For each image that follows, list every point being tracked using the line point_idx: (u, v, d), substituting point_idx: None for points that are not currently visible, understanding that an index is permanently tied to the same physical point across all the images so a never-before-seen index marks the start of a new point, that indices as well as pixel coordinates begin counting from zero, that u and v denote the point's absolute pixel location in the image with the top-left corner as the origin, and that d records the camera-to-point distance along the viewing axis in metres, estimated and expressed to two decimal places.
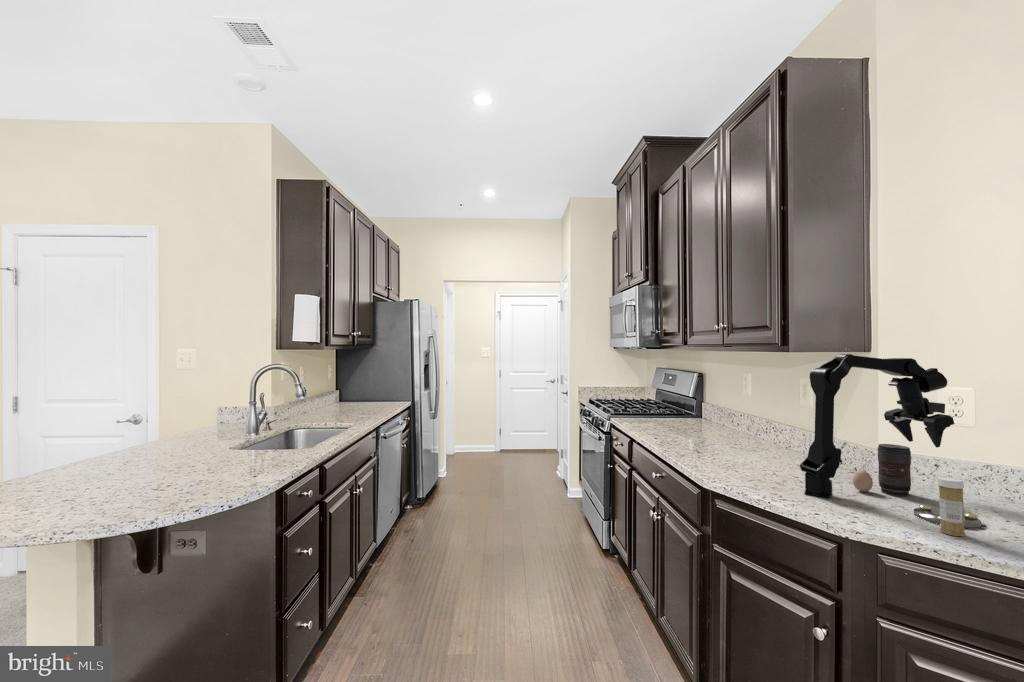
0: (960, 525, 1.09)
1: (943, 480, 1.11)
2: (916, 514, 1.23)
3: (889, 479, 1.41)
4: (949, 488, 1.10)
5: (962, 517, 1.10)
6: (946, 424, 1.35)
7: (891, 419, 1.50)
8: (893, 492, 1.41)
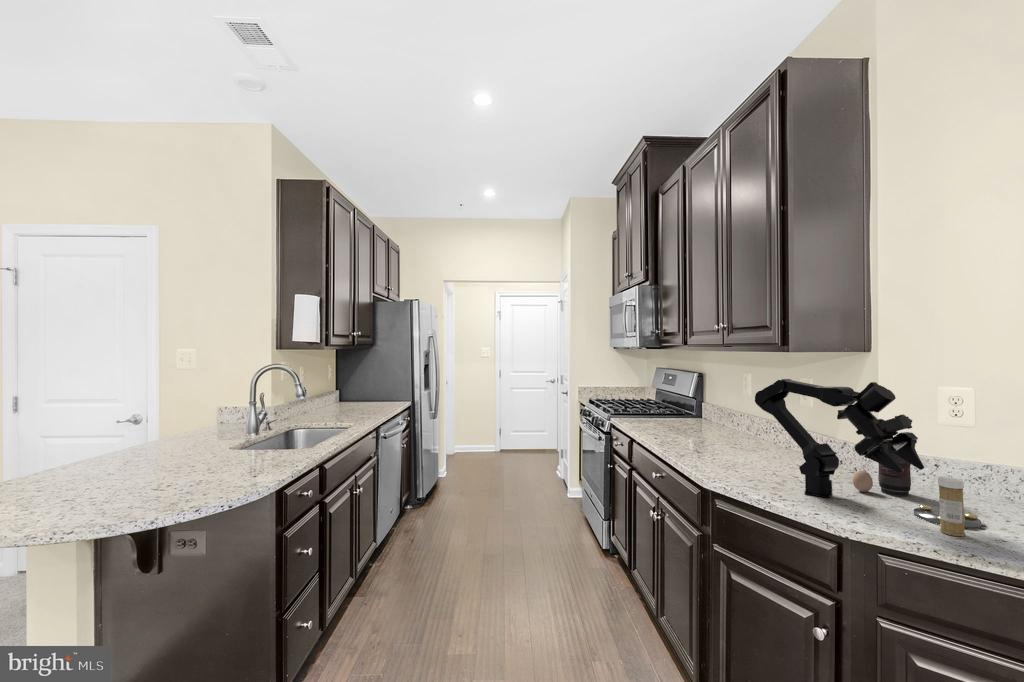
0: (960, 525, 1.09)
1: (943, 480, 1.11)
2: (916, 514, 1.23)
3: (889, 479, 1.41)
4: (949, 488, 1.10)
5: (962, 517, 1.10)
6: (866, 447, 1.21)
7: None
8: (893, 492, 1.41)
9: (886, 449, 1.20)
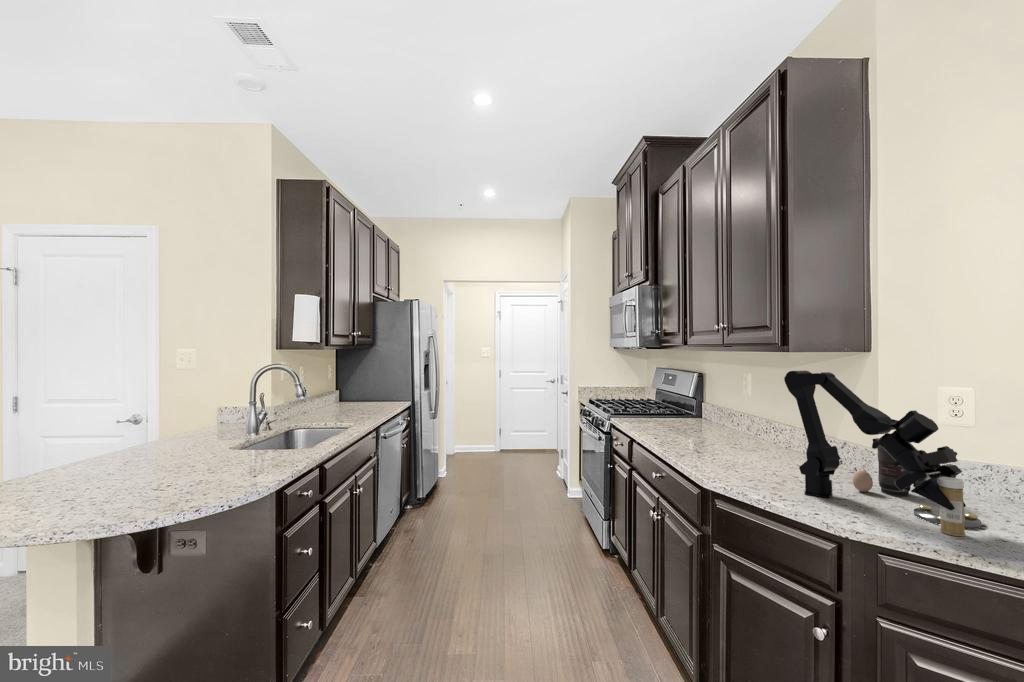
0: (960, 525, 1.09)
1: (943, 480, 1.11)
2: (916, 514, 1.23)
3: (889, 479, 1.41)
4: (949, 488, 1.10)
5: (962, 517, 1.10)
6: (907, 483, 1.12)
7: None
8: (893, 492, 1.41)
9: (935, 484, 1.12)
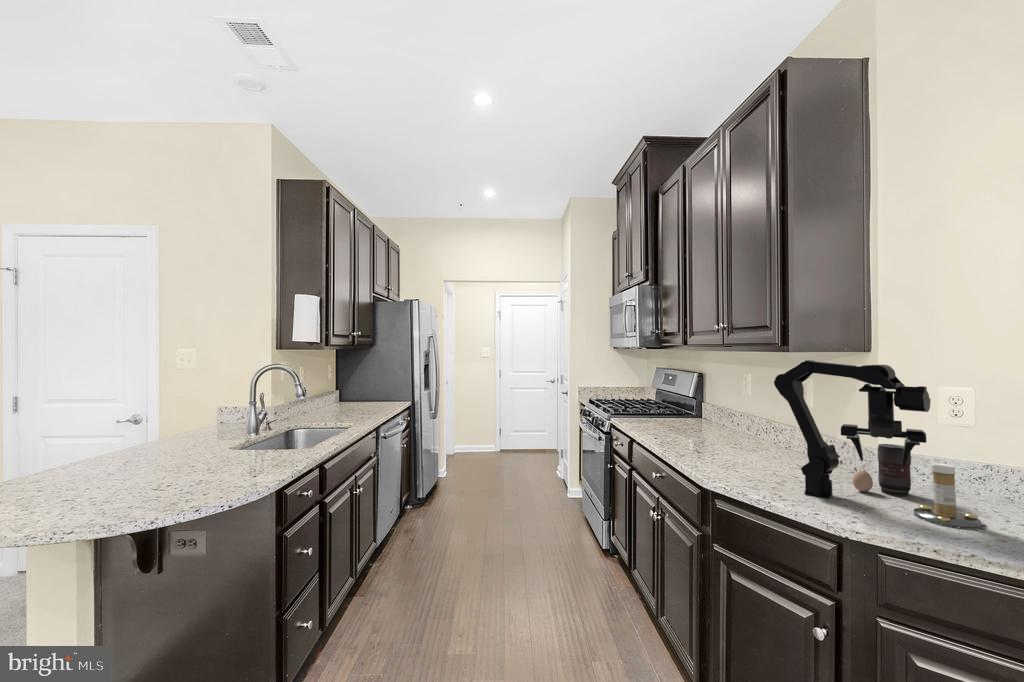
0: (954, 507, 1.19)
1: (940, 467, 1.20)
2: (916, 514, 1.23)
3: (889, 479, 1.41)
4: (945, 474, 1.20)
5: (955, 499, 1.19)
6: None
7: None
8: (893, 492, 1.41)
9: (856, 441, 1.32)
